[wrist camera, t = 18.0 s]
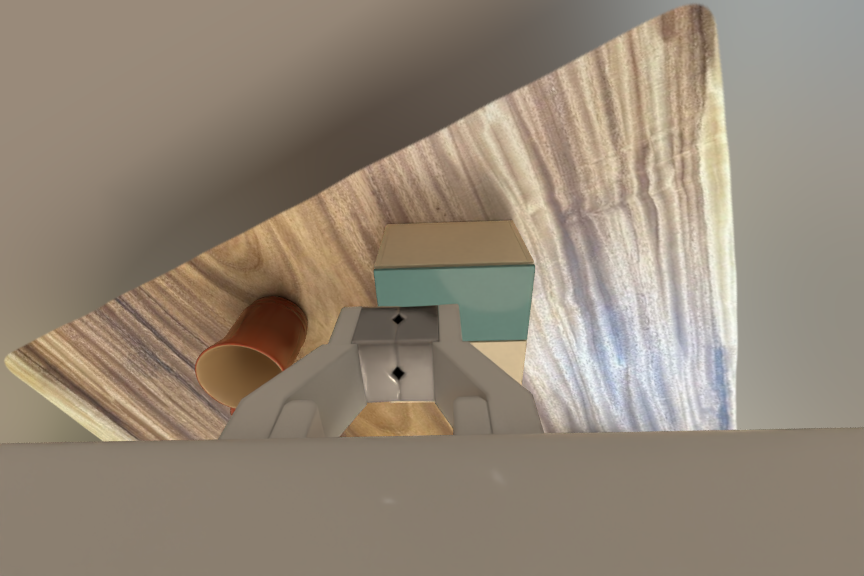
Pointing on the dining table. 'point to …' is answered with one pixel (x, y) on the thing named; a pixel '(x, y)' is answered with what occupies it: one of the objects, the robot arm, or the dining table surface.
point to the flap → (466, 296)
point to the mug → (252, 350)
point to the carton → (460, 248)
